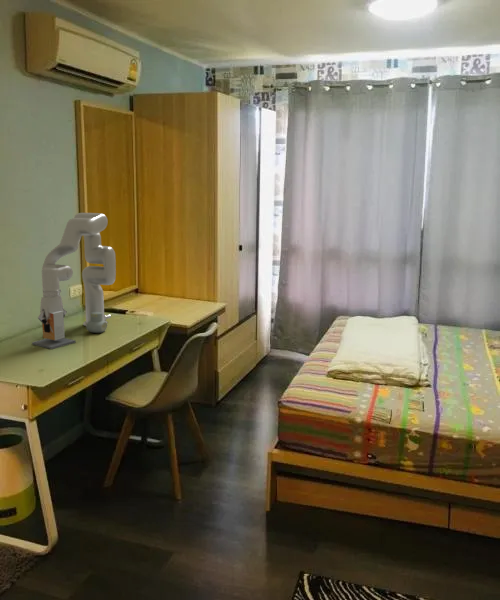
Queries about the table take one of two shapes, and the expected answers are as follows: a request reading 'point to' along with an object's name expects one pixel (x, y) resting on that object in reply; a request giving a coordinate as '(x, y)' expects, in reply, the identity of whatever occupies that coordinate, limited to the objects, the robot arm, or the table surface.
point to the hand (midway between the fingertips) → (53, 330)
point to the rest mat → (53, 343)
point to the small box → (55, 326)
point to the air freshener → (96, 323)
